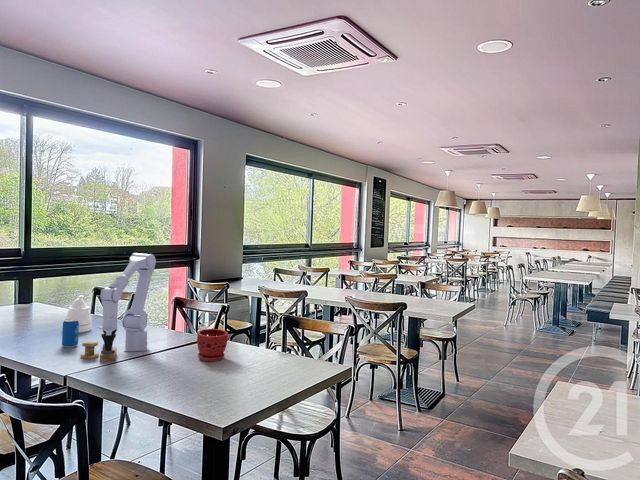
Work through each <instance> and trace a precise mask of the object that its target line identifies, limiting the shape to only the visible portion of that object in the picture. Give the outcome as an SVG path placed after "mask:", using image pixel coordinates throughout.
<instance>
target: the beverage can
mask: <svg viewBox="0 0 640 480" xmlns="http://www.w3.org/2000/svg"><path fill="white" fill-rule="evenodd" d="M61 331H62V334H61V335H62V336H61V338H62V339H61V345H62V347H63V348H67V349H68V348H76V346H77V345H79V333H78V331H79V322H78V319H63V322H62V330H61Z"/></svg>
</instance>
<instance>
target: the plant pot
mask: <svg viewBox="0 0 640 480" xmlns="http://www.w3.org/2000/svg"><path fill="white" fill-rule="evenodd" d="M196 336H197V337H196V341H197V342H196V344H197V349H198V353H197V358H198V359H200V360H202V361H205V362H217V361H220V360H223V359H224V358H225V354H226V353H224V352H225V351H226V347H227V345H228V340H229V339H228V338H229V333H228V332H227V331H226V330H224V329H217V328H205V329H201V330H198V332H197V335H196Z"/></svg>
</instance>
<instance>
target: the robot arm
mask: <svg viewBox="0 0 640 480" xmlns="http://www.w3.org/2000/svg"><path fill="white" fill-rule="evenodd" d="M128 261H129V263H128V264H127V266H126V268H125V269H124V271H122V274H118V275H116V277H115V278H114V279H113V280H112V282H111V283H110V284H109V286H108V287H105V288H103V289H101V292H100V295H99V298H100V300H101V305H102V320H101V321H102V323H101V324H102V325H101V326H99V327H98V329H99V330H102V332H103V333H101V338H102V340H103V344H104V345H105V350H106V351H111V349H112V347H113V345H114V341H115V339H116V336H117V334H116V333H117V331H118V314H119V313H118V309H119V308H118V307H119V301H120V300H121V299H122V295H123V292H124V291H125V289H126V287H127V286H128V285H129V283H130V281H129V279H130V278H131V277H132V276H133V275H134V274H135V273H136V272H137V273H138V274H139V276H138V280H137V284H136V288H135V291H134V292H135V293H134V295H133V300H132V304H131V307H130V308H128V309H127V310H126V311H125V314H124V315H123V318H122V319H121V325H122V328H124V331H125V340H124V346H123V352H144V351H146V352H147V350H148V349H147V347H148V329H146V328H147V325H148V316H149V314H148V312H146V311H145V310H144V309H145V304H146V300H147V296H148V293H149V288H150V284H151V280H152V276H153V273H154V272H155V271H154V270H155V267H156V263H157V260H156V257H155V255H154V254H153V253H149V254H148V253H142V252H141V253H138V252H133V253H132V254H131V255H130V257H129V260H128Z"/></svg>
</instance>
